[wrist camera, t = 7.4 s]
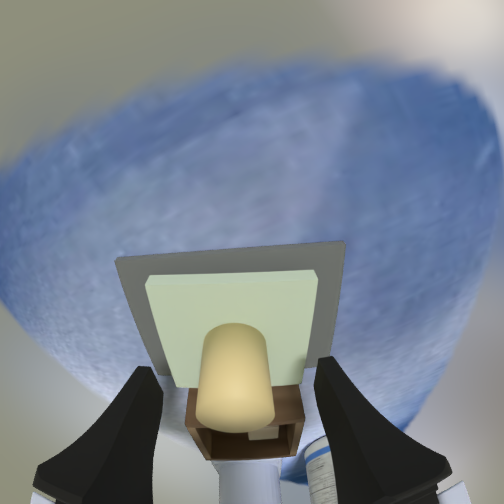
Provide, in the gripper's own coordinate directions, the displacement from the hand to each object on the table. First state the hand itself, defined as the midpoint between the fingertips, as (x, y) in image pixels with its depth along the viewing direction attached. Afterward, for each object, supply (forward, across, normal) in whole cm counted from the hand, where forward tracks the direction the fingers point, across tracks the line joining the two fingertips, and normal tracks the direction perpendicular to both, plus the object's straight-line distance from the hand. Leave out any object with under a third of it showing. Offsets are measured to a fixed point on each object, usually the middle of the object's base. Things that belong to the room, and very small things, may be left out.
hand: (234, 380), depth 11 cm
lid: (+4, 0, 0) cm, 4 cm away
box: (+4, 0, +8) cm, 10 cm away
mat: (+4, 0, 0) cm, 4 cm away
